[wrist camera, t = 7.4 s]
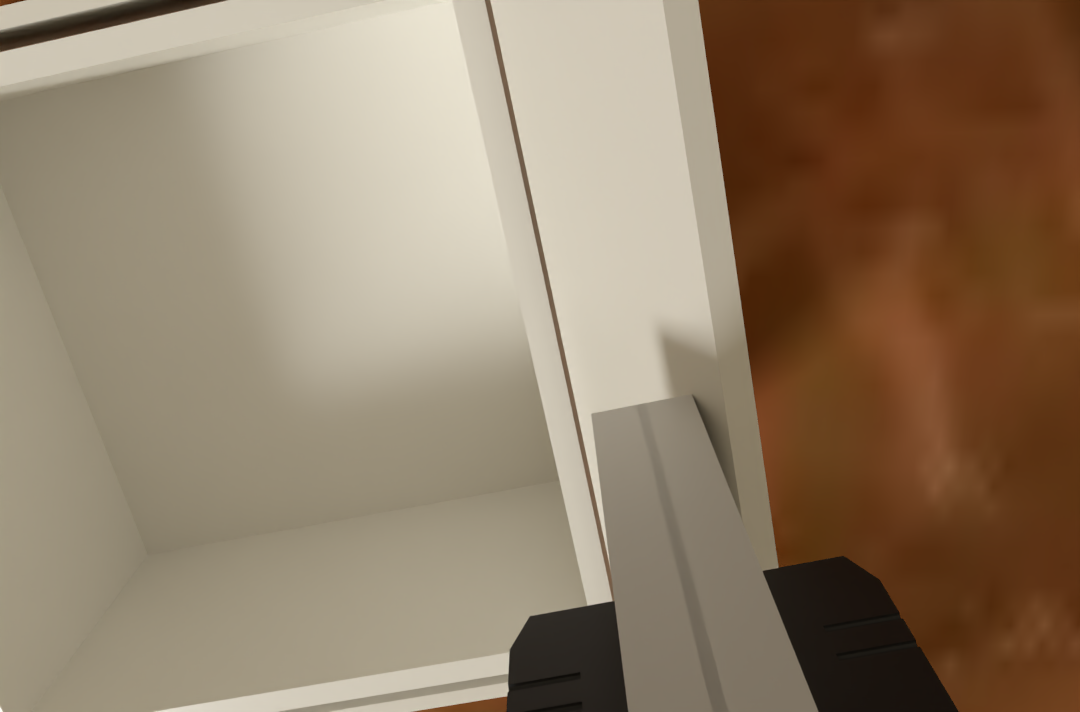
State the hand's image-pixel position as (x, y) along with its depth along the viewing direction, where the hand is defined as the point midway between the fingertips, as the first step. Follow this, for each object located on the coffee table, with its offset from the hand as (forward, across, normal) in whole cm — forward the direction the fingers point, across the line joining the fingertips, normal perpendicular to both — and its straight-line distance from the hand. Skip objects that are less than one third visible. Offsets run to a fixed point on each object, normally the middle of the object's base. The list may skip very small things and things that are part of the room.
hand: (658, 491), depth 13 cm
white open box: (+16, -9, 0) cm, 19 cm away
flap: (+3, 0, 0) cm, 3 cm away
